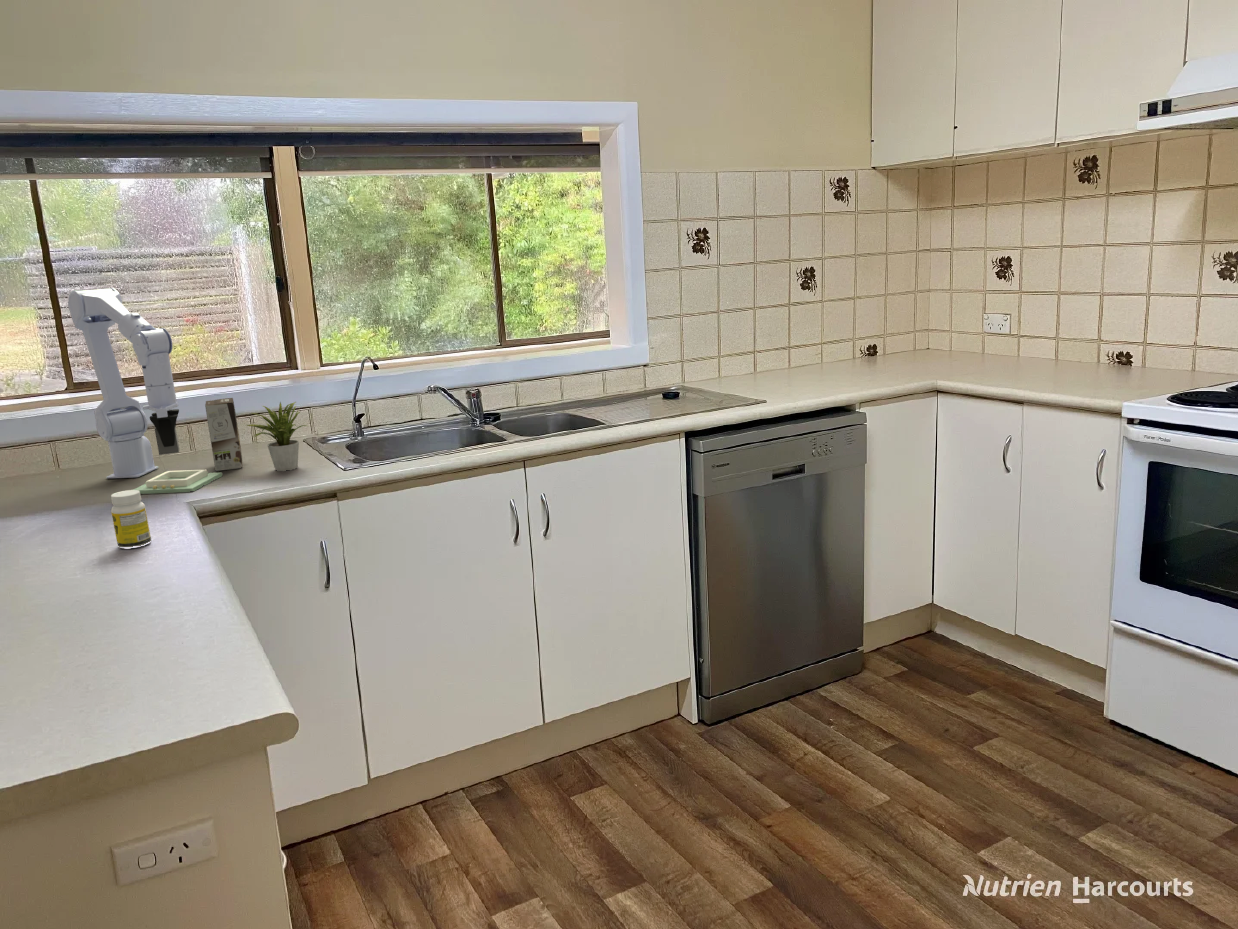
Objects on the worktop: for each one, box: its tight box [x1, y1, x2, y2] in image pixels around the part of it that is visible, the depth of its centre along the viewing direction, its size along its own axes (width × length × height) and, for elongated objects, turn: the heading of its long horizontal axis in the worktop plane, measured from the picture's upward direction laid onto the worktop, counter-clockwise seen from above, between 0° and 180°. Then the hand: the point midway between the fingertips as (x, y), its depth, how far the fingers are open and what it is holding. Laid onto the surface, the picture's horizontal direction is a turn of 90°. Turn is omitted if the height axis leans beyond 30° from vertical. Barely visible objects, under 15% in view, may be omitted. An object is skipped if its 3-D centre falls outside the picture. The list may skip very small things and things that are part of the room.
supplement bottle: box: [110, 489, 152, 548], centre depth 169 cm, size 6×6×10 cm
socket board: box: [133, 468, 223, 495], centre depth 214 cm, size 14×14×2 cm
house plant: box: [246, 401, 308, 472], centre depth 223 cm, size 14×14×16 cm
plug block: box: [153, 425, 180, 456], centre depth 211 cm, size 4×4×6 cm
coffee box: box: [204, 397, 243, 472], centre depth 228 cm, size 9×6×16 cm
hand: (169, 444), depth 211 cm, fingers closed on plug block, 4 cm apart
